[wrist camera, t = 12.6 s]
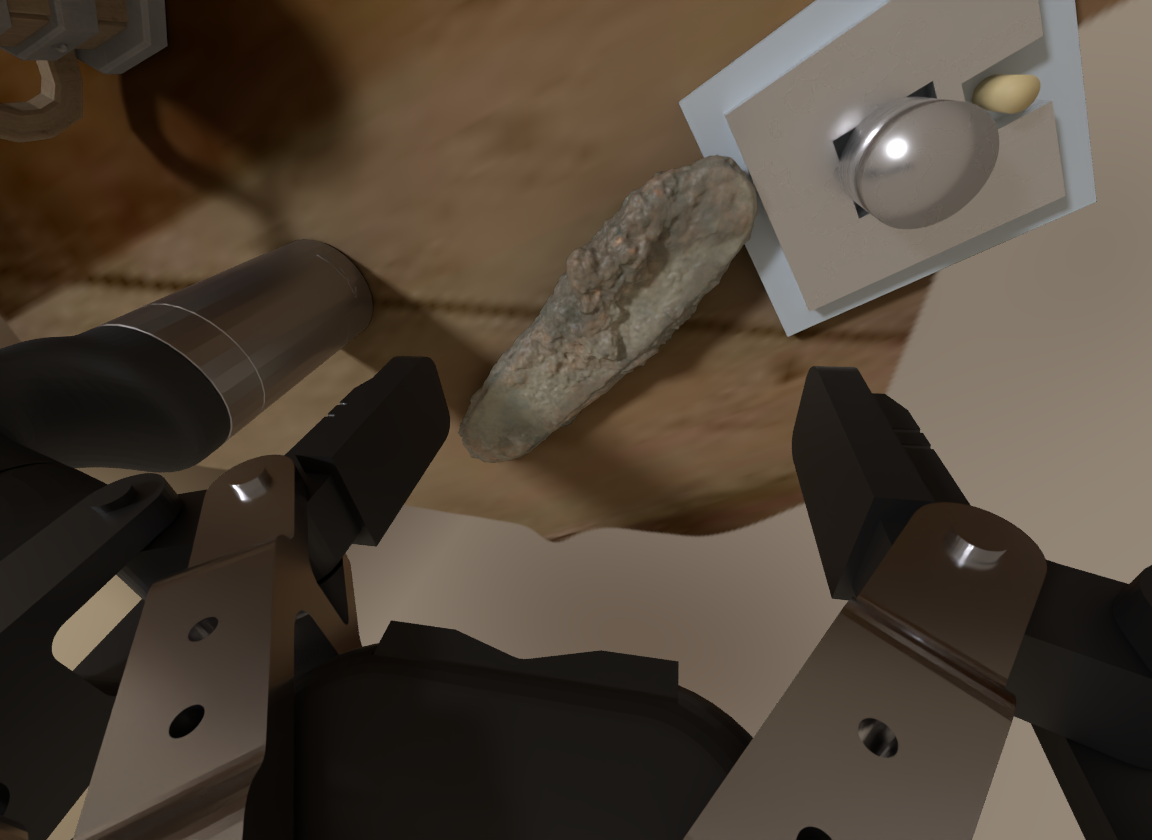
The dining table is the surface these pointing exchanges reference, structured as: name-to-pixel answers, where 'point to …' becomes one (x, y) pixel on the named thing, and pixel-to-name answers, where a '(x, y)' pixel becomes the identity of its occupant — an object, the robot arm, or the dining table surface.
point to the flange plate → (850, 93)
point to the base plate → (998, 90)
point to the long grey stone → (614, 305)
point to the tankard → (72, 54)
